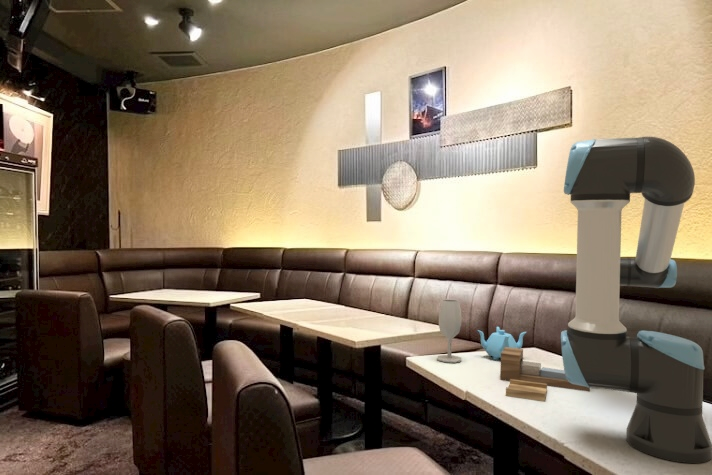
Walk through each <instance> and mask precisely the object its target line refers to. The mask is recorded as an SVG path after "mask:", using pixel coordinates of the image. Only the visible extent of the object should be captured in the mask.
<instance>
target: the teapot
mask: <svg viewBox="0 0 712 475" xmlns="http://www.w3.org/2000/svg"><path fill="white" fill-rule="evenodd" d="M476 331H477V332H478V333H479V335H480V345H481V347H482V348H483V349H484V351H485V352H486V354H487V355H489V357H491V356H492V357H491V358H492V361H499V359H501V352H502V351H503V350H504V348H505V347H510V348H519V349H522V347H523V342H524V340H523V339H524V336H525V334H526V333H527V331H523V332H521V333H520V334H519V337H518V341H517V342H516V339H515V337H514V336H513V335H512V334H511V333H507V332H506V331H505V329H501V328H500V326H496V332H492V333H491V334H490V335H489V337H488V339H487V340H485V334H484V331H481V330H479V329H477V330H476Z"/></svg>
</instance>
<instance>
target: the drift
mask: <svg viewBox="0 0 712 475" xmlns="http://www.w3.org/2000/svg"><path fill="white" fill-rule="evenodd" d="M540 377H547V378H555V379H563V380H567V379H566V376H565V371H564V369H558V368H551V367H543V366H542V367H541V370H540Z"/></svg>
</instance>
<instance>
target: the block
mask: <svg viewBox="0 0 712 475" xmlns="http://www.w3.org/2000/svg"><path fill="white" fill-rule="evenodd" d="M541 369H542V363H541V362H535V361H527V360H523V361H520V374H524V375H531V376H539V377H540V370H541Z"/></svg>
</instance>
